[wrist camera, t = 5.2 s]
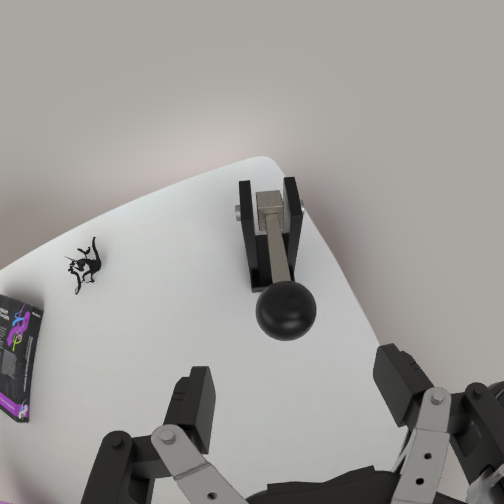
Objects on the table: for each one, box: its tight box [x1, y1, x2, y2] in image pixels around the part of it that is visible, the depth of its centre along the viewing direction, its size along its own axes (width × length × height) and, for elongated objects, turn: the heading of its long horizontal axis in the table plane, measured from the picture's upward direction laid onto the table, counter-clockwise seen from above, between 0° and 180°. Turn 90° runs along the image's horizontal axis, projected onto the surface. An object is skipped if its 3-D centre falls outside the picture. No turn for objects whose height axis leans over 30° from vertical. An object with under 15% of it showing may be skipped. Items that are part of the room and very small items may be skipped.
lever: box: [256, 190, 316, 341], centre depth 20 cm, size 14×4×4 cm, turn 4°
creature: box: [66, 237, 101, 295], centre depth 33 cm, size 8×5×8 cm
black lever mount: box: [235, 177, 304, 293], centre depth 28 cm, size 7×6×13 cm
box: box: [0, 294, 43, 423], centre depth 27 cm, size 14×4×20 cm
